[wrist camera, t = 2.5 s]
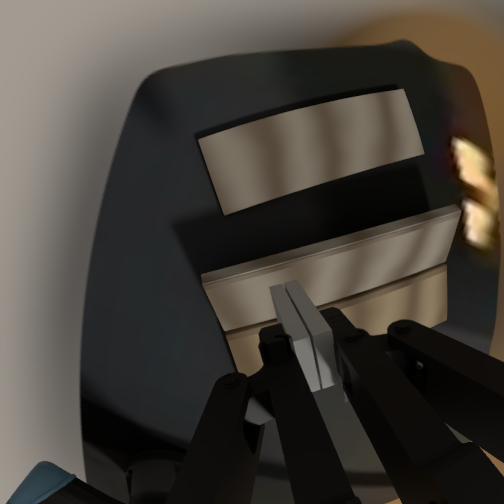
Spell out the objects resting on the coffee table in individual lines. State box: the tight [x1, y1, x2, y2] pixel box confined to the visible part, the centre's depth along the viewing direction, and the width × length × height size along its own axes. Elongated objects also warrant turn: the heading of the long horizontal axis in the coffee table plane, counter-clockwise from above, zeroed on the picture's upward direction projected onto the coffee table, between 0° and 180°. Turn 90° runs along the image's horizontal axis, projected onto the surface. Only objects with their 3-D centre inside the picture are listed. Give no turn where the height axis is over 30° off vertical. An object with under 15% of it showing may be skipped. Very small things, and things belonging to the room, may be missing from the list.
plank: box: [198, 89, 424, 216], centre depth 30 cm, size 24×8×1 cm, turn 109°
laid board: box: [226, 263, 447, 377], centre depth 34 cm, size 28×8×1 cm, turn 105°
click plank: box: [201, 204, 461, 331], centre depth 30 cm, size 28×8×1 cm, turn 105°
